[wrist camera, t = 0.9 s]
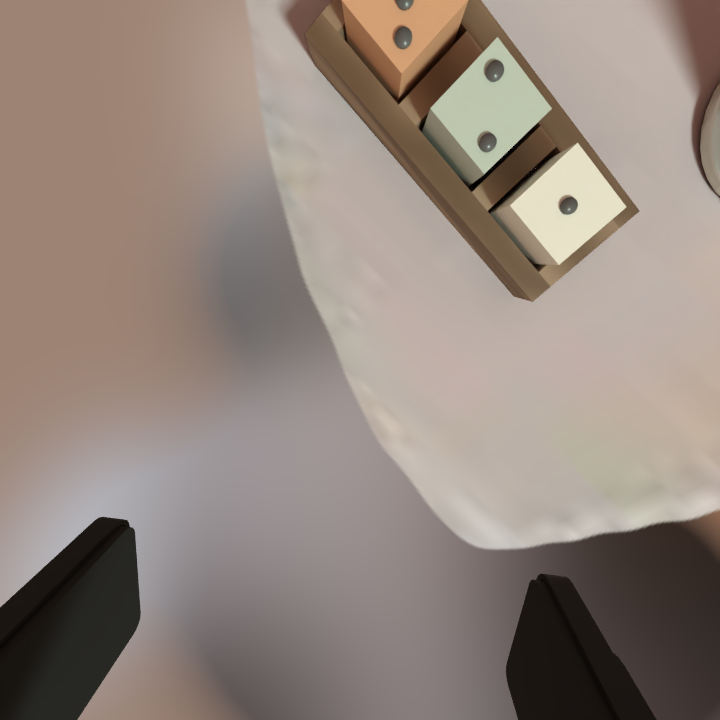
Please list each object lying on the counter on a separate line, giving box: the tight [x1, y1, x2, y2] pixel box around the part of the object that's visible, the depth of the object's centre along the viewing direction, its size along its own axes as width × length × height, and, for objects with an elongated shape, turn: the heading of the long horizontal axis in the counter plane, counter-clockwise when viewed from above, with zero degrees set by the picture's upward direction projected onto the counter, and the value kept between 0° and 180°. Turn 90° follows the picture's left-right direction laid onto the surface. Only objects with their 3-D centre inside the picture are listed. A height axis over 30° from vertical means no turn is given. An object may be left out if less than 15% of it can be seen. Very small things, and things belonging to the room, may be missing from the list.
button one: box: [489, 143, 626, 265], centre depth 26 cm, size 5×5×5 cm
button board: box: [305, 0, 639, 302], centre depth 27 cm, size 9×24×4 cm, turn 44°
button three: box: [342, 0, 468, 105], centre depth 23 cm, size 5×5×5 cm
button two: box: [422, 37, 552, 187], centre depth 24 cm, size 5×5×5 cm
